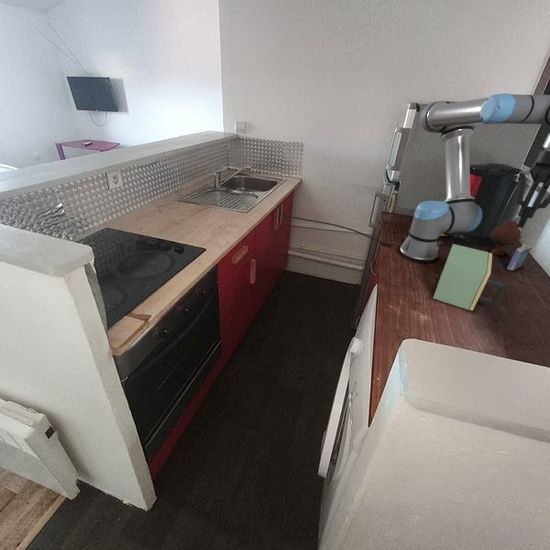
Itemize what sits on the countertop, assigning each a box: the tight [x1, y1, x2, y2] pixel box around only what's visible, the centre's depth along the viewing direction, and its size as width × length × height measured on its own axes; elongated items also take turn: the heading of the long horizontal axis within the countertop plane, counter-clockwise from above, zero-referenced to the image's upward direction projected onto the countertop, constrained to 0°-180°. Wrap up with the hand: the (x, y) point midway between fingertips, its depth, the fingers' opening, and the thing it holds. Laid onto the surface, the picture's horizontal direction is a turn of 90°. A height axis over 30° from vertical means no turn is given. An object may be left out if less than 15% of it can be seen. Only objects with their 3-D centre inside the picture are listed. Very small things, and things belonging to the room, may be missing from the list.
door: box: [468, 252, 507, 312], centre depth 98 cm, size 6×16×15 cm, turn 146°
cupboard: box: [432, 243, 489, 311], centre depth 102 cm, size 11×16×15 cm
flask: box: [506, 242, 532, 272], centre depth 121 cm, size 9×3×11 cm, turn 121°
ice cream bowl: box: [489, 220, 522, 256], centre depth 131 cm, size 11×11×15 cm
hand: (519, 226), depth 97 cm, fingers closed
